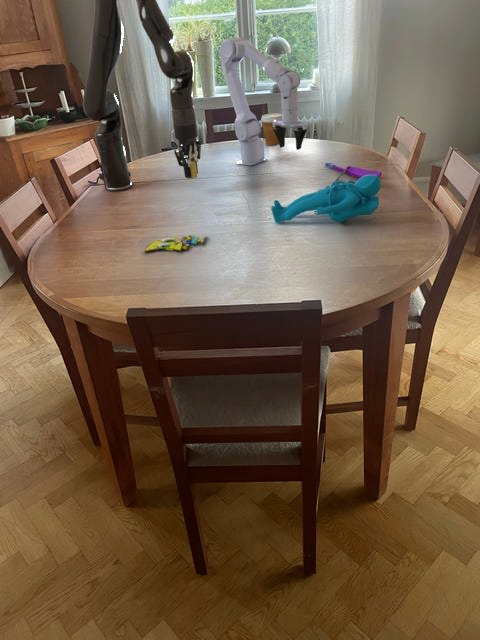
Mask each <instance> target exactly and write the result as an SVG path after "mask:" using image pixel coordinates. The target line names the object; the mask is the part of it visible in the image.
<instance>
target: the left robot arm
mask: <svg viewBox="0 0 480 640" xmlns="http://www.w3.org/2000/svg"><path fill="white" fill-rule="evenodd" d="M135 2H136V6H137V11H138V12H137V13H138V17H139V20H140V24H141V26H142V28H143V30H144V32H145V33H146V35H147V37H148V39H149V40H150V43H151V44H152V46H153V50H154V54H155V57H156V59H157V63H158V66H159V69H160V71H161V72H162V73H163V74H164V76H165V77H166V78H168V79H170V80H174V85H173V87H171V88H170V91H169V99H170V105H171V106H170V107H171V119H172V123H173V124H172V125H173V131H174V132H173V133H174V139H176V140H178V148H177V149H174V150H173V152H174V155H175V158H176V161H177V163H178V166H179V167H183V173H184V177H185V178H186V179H188V178H191V177H192V175H191V167H190V162H196V170H197V175H198V174H199V168H198V162H199V160H200V159H201V153H202V151H201V150H202V141H201V140H197V138H198V136H199V132H198V124H197V122H198V121H197V115H196V111H195V105H194V96H193V88H194V87H193V86H194V75H195V65H194V61H193V59H192V56H191V55H190V53H189V52H187V51H186V50H177V51H175V50H174V47H173V43H174V41H175V34H174V32H173V30H172V28H171V26H170V25H169V24H170V23H169V22H168V20H167V19H166V17H165V15H164V14H163V11H162V10H161V8H160V5H159V3H158V1H157V0H135ZM93 9H94V10H93V21H92V28H91V39H90V53H89V60H88V71H87V77H86V81H85V87H84V92H83V96H82V109H83V112H84V114H85V116H86V118H88V119H89V120H90V121H92V122H98V127H97V129H96V130H95V132H94V139H95V143H96V147H97V153H98V156H99V160H100V162H99V163H98V164H99V168H100V172H99V173H98V176H97V177H96V181H91V180H87V183H89V184H92V185H97V184H98V183H99V180H101V181H102V182H103V185H104V189H106V190H107V191H111V192H120V191H124V190H127V189H130V188H132V187H133V184H132V179H131V172H130V170H129V169H130V168H129V165H128V160H127V155H126V149H125V144H124V141H123V134H122V133H123V132H122V131H123V123H122V122H123V121H122V117H121V116H122V115H121V109H120V105H119V101H118V99H117V97H116V96H117V95H115V93H114V92H113V91H112V90H110V89H108V86H109V81H110V78H111V75H112V74H113V72H114V69H115V68H116V66H117V64H118V62H119V59H120V57H121V53H122V46H123V40H124V39H123V38H124V25H123V21H122V17H121V13H120V10H119V5H118V0H94V8H93Z"/></svg>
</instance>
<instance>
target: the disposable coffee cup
mask: <svg viewBox="0 0 480 640" xmlns="http://www.w3.org/2000/svg"><path fill="white" fill-rule="evenodd" d="M260 120H261V123H262V128H263V135H264V141H265V145H268V146H275V145H279V142H278V139H277V136H276V134H275V133H274V131H273V129H275V127H273V121H282V113H278V112H275V113H273V112H272V113H266V114H263V115H261V118H260Z"/></svg>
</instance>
